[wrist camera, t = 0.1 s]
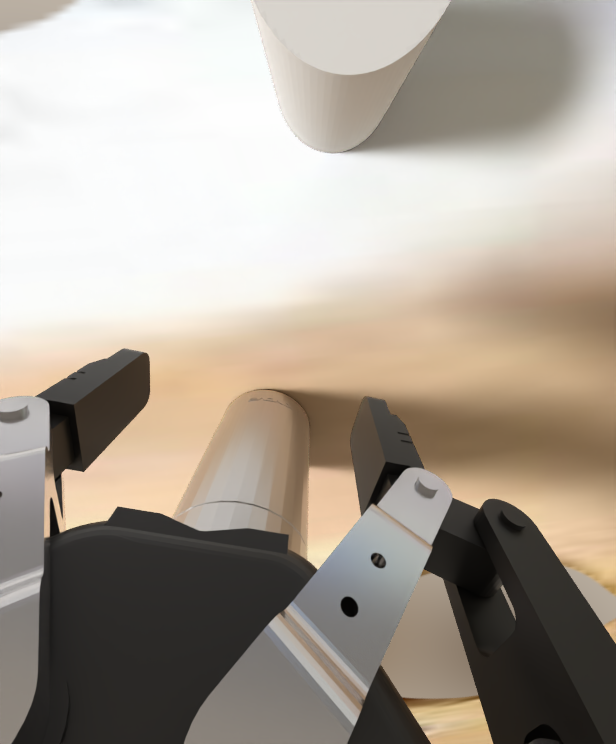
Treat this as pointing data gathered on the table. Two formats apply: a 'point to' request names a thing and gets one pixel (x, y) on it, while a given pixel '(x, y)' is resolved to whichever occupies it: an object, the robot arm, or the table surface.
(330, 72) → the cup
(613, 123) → the table surface
